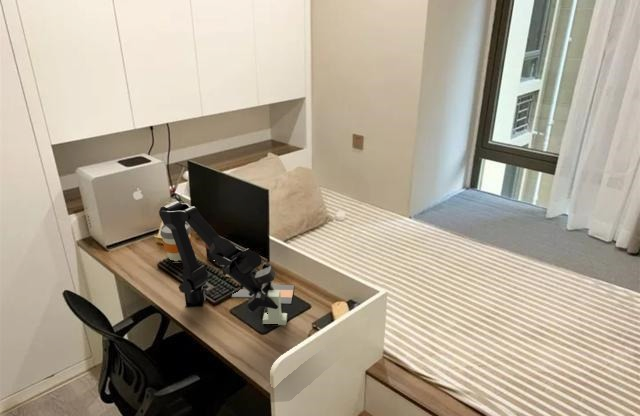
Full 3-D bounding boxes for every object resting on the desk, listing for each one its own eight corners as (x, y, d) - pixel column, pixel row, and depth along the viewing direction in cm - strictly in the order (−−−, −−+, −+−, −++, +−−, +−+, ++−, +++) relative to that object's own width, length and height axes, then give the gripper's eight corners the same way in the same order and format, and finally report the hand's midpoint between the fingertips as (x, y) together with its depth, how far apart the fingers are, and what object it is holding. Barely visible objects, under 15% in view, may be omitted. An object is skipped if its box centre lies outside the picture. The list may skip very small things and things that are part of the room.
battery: (214, 254, 200) (212, 234, 196) (224, 259, 196) (222, 239, 192) (206, 258, 197) (204, 238, 193) (216, 263, 193) (213, 243, 189)
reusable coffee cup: (158, 259, 197) (153, 228, 191) (181, 248, 206) (177, 218, 200) (177, 267, 190) (172, 236, 184) (200, 255, 200) (196, 225, 194)
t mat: (229, 302, 166) (229, 301, 166) (236, 285, 177) (236, 284, 177) (291, 304, 165) (290, 303, 165) (294, 286, 176) (294, 285, 176)
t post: (262, 324, 155) (260, 296, 150) (264, 317, 158) (262, 289, 154) (285, 325, 154) (284, 297, 150) (287, 317, 158) (286, 290, 153)
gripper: (254, 276, 138) (291, 307, 142) (264, 248, 156) (296, 275, 159) (231, 297, 142) (268, 326, 146) (243, 267, 159) (275, 294, 163)
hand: (278, 304), depth 153 cm, fingers closed on t post, 4 cm apart
